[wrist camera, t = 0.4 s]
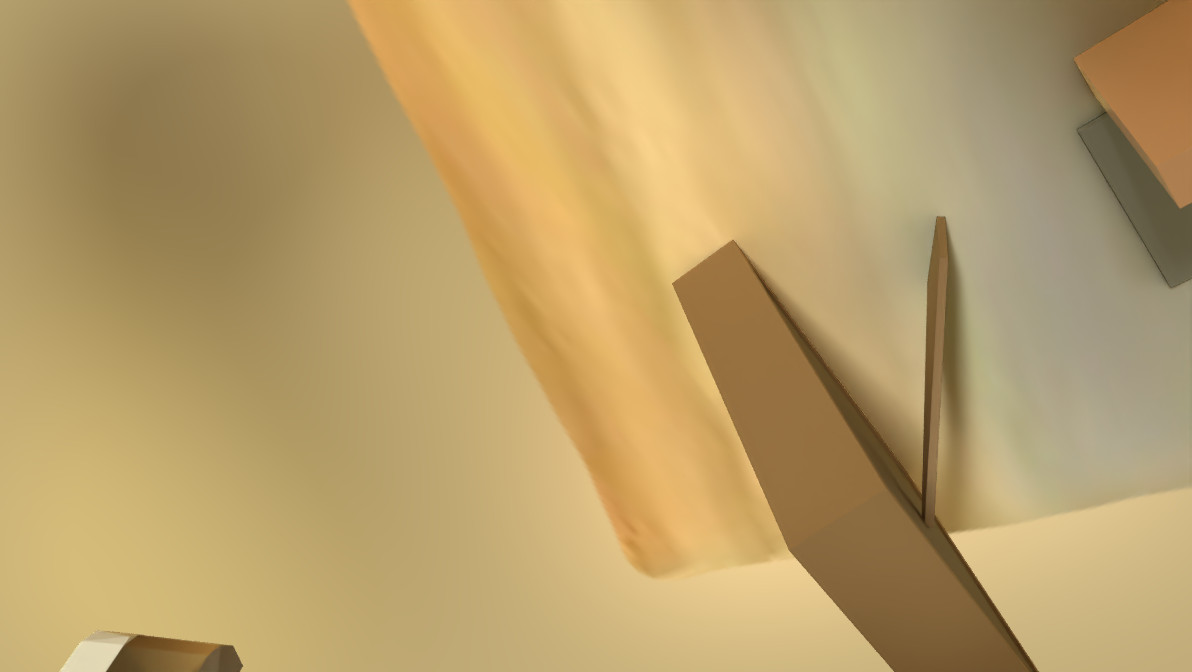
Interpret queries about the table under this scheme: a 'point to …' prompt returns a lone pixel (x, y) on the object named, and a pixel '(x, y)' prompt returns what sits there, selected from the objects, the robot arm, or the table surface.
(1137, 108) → the tile
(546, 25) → the table surface
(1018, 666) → the photo frame
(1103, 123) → the mat
